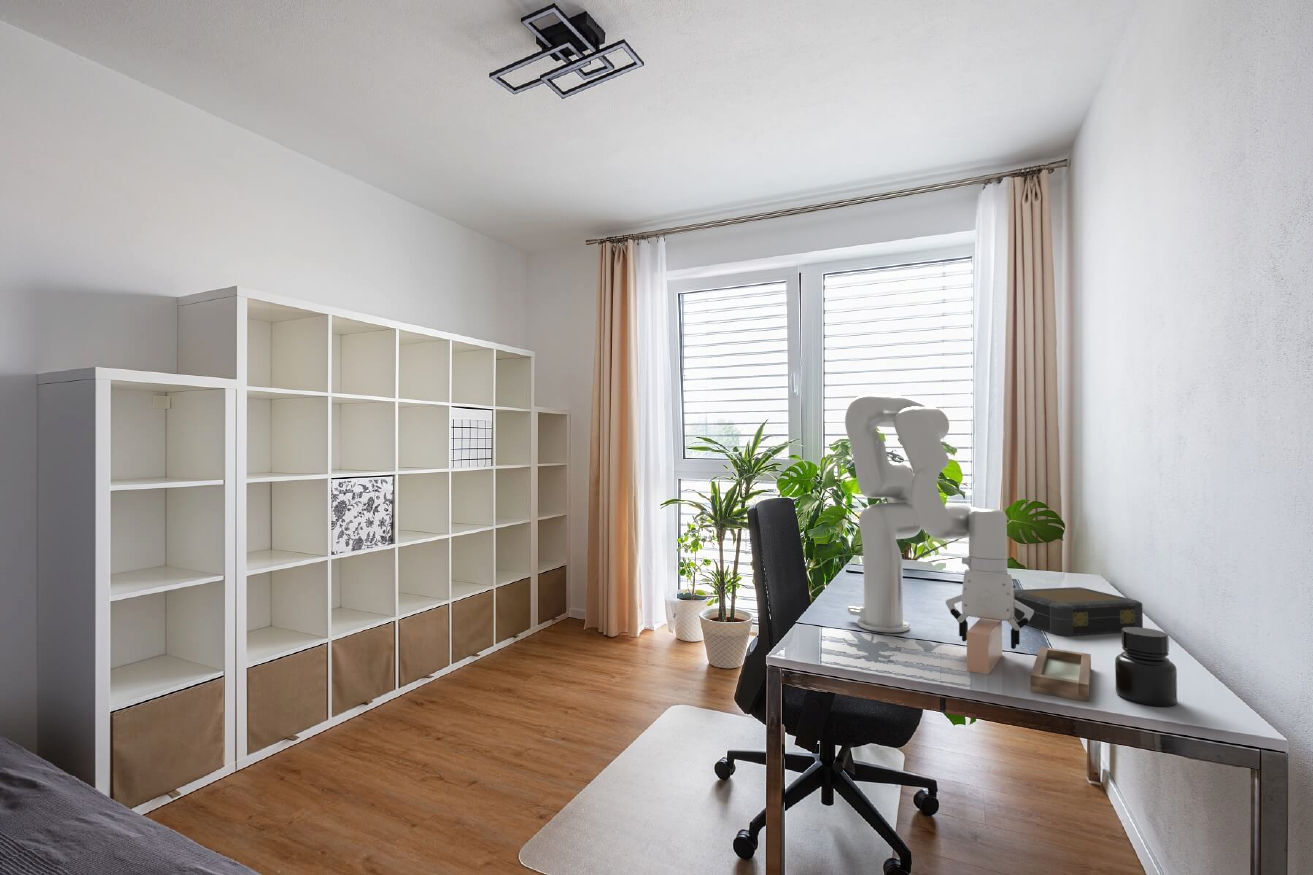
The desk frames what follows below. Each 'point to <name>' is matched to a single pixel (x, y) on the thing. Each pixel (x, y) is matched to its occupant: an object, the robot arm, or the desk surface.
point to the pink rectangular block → (984, 645)
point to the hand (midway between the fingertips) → (988, 643)
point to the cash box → (1078, 611)
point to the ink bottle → (1146, 668)
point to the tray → (1062, 673)
